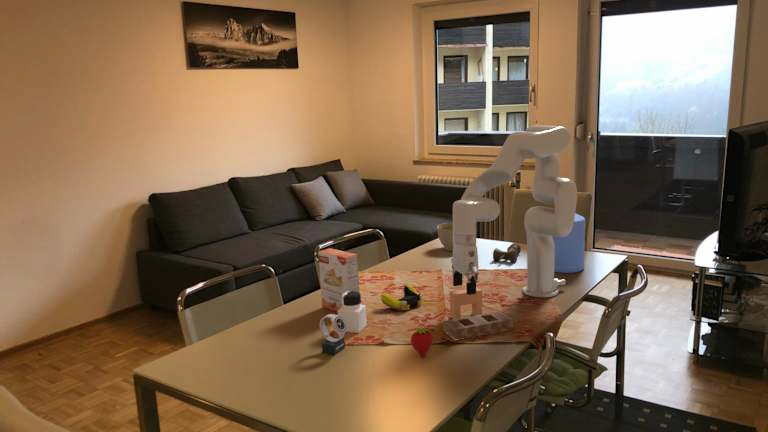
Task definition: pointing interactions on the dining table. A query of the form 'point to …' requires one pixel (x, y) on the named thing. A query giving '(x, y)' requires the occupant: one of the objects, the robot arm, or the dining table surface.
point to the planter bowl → (446, 235)
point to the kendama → (507, 253)
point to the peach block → (465, 302)
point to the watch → (333, 343)
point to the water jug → (570, 248)
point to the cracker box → (337, 276)
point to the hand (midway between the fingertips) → (464, 289)
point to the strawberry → (422, 340)
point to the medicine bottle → (353, 312)
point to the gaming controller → (403, 299)
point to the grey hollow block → (478, 325)
